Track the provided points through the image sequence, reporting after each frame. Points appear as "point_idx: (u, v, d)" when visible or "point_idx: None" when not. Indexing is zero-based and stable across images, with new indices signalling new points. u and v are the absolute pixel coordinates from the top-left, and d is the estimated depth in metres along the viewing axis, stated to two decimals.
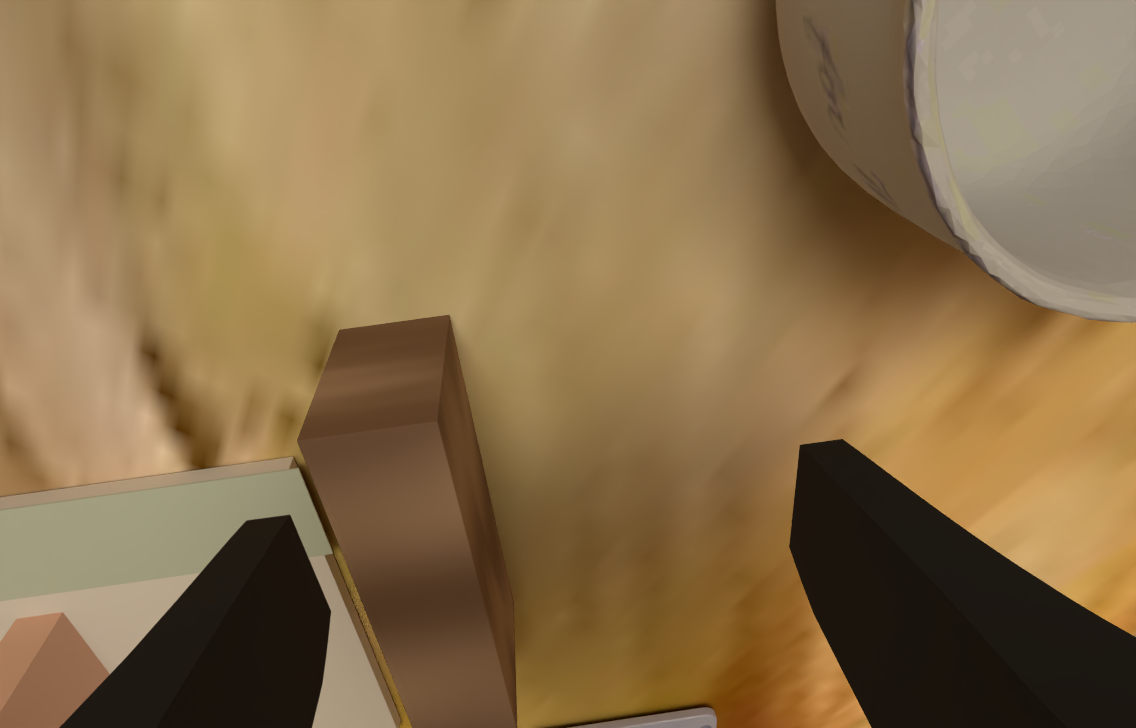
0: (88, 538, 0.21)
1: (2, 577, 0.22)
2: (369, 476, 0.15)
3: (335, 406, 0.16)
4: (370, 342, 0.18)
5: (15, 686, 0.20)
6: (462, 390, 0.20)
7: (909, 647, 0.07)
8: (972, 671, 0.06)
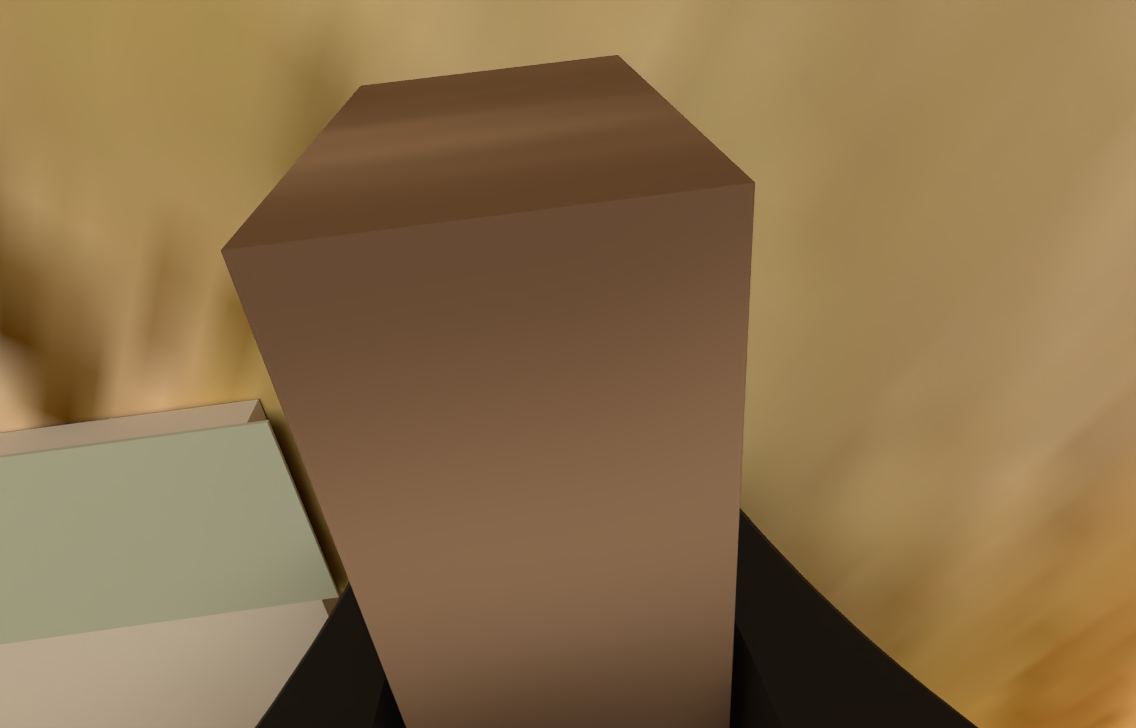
0: None
1: None
2: (477, 400, 0.05)
3: (362, 176, 0.05)
4: (439, 93, 0.07)
5: None
6: None
7: None
8: (755, 703, 0.06)
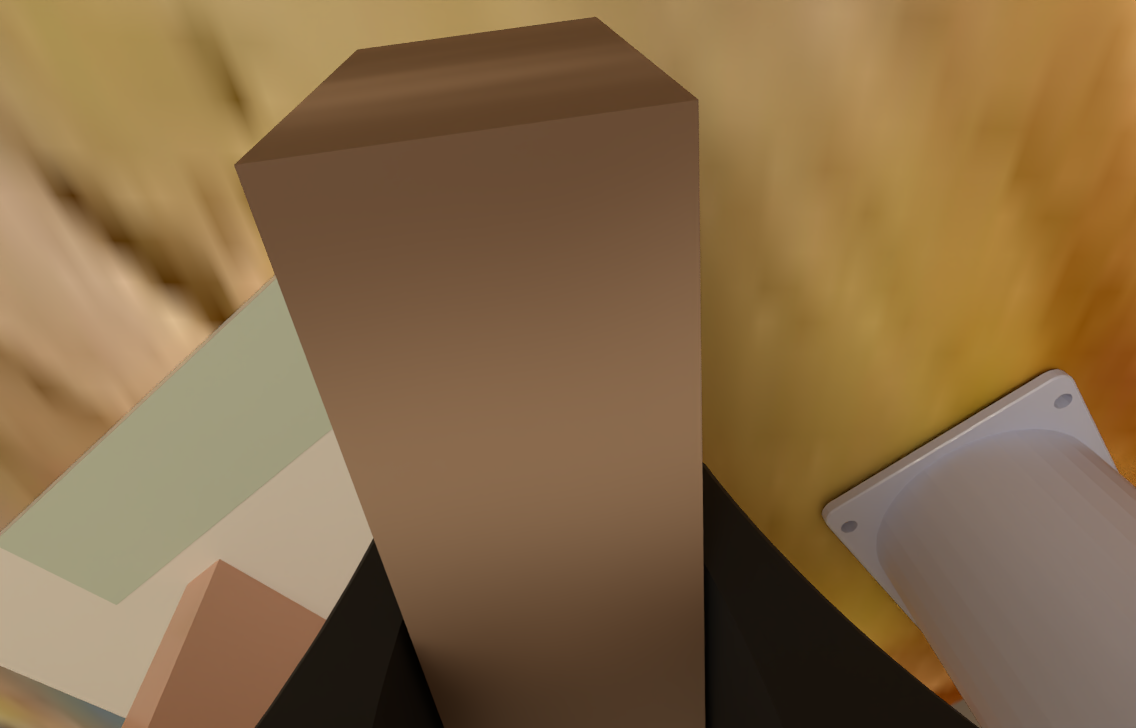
0: (174, 459, 0.18)
1: (140, 543, 0.19)
2: (461, 306, 0.05)
3: (356, 112, 0.05)
4: (429, 51, 0.08)
5: (186, 638, 0.18)
6: None
7: (724, 673, 0.07)
8: (756, 703, 0.06)
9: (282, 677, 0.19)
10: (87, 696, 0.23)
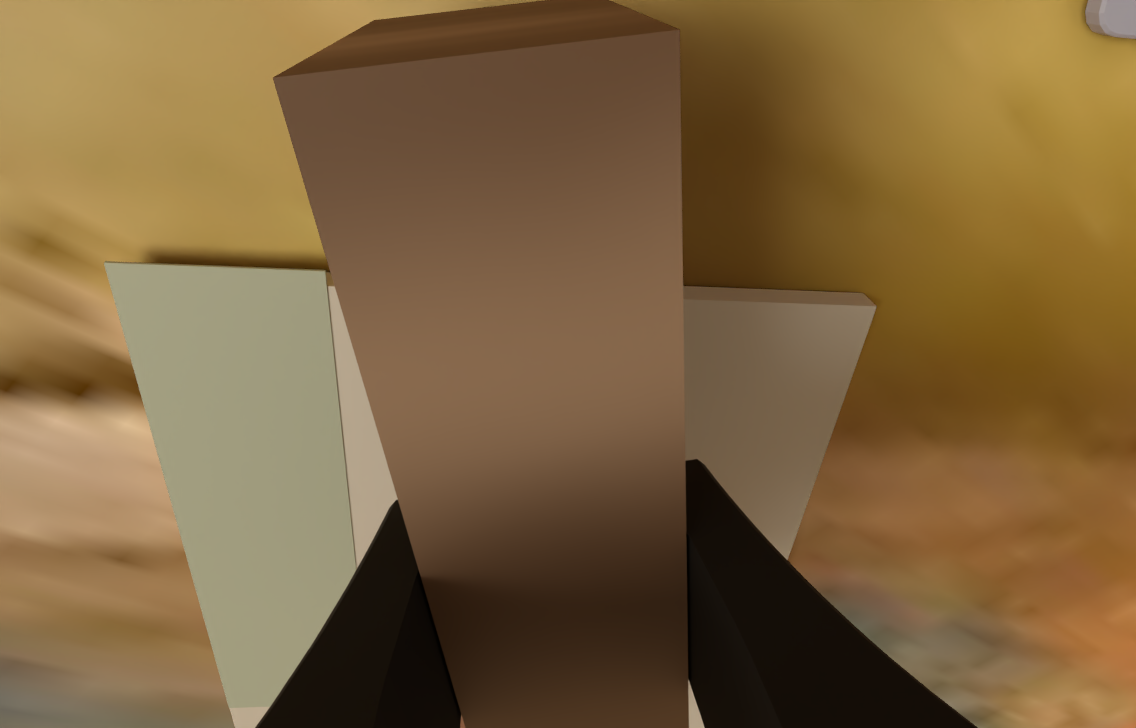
0: (257, 550, 0.15)
1: None
2: (468, 219, 0.06)
3: (378, 50, 0.06)
4: (441, 18, 0.08)
5: None
6: None
7: (723, 674, 0.07)
8: (754, 703, 0.06)
9: None
10: None
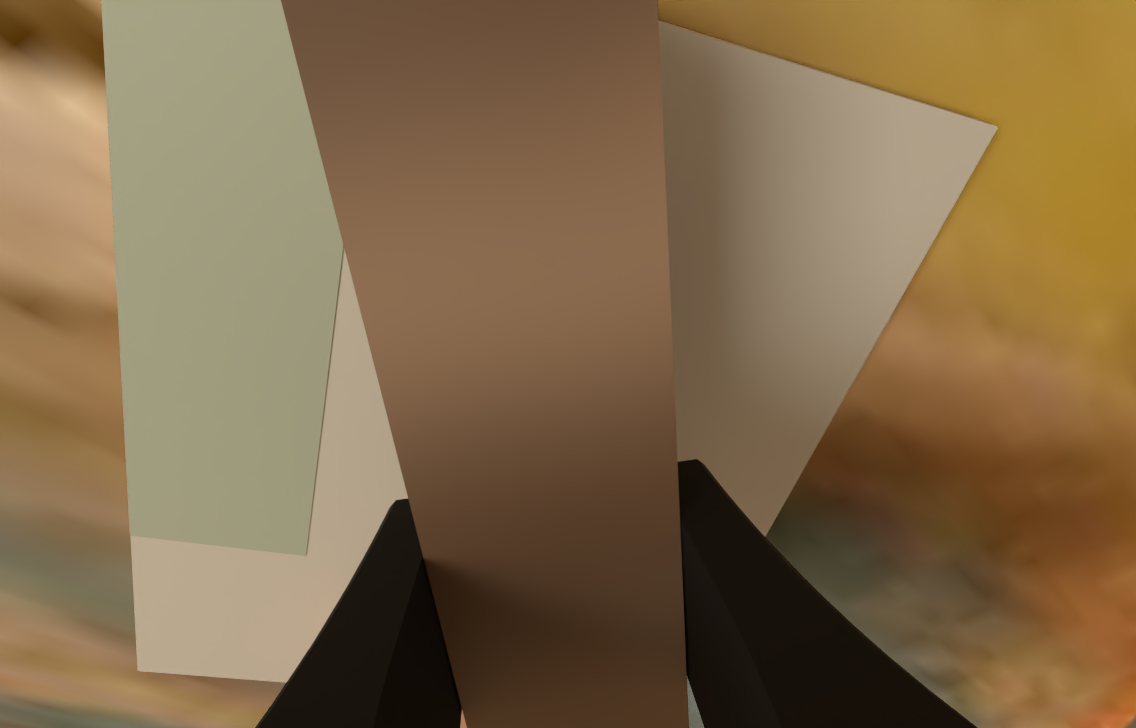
0: (211, 314, 0.12)
1: (267, 460, 0.14)
2: (456, 115, 0.06)
3: None
4: None
5: None
6: None
7: (723, 674, 0.07)
8: (754, 703, 0.06)
9: None
10: None
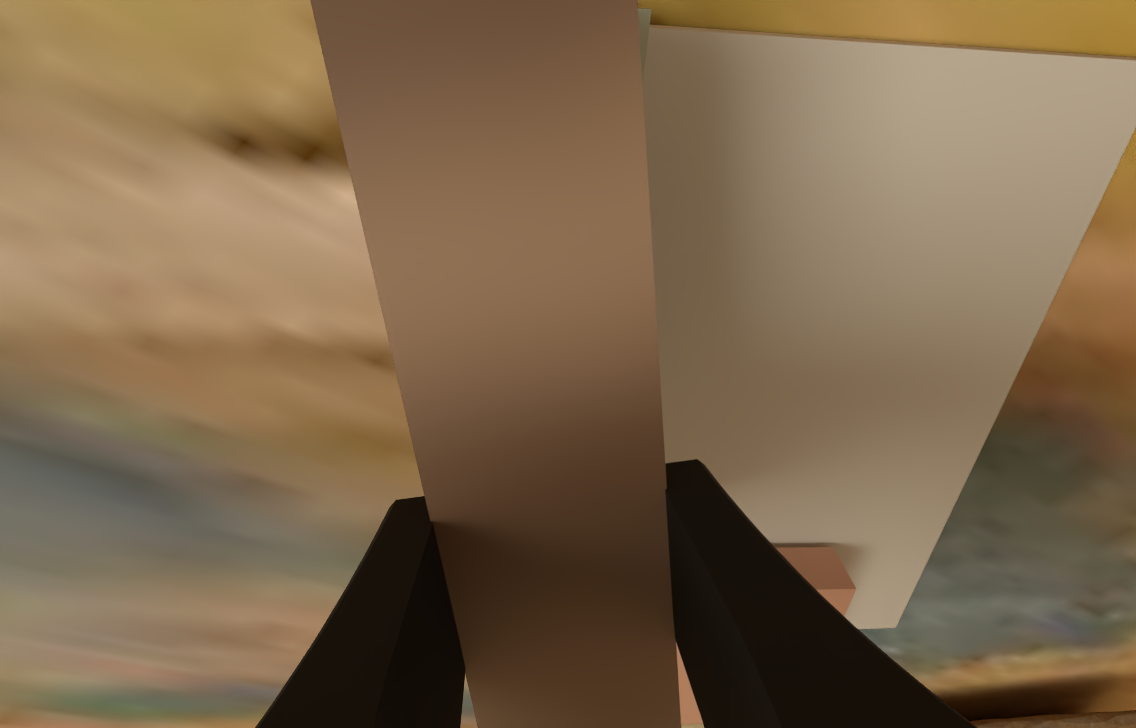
0: None
1: None
2: (462, 106, 0.07)
3: None
4: None
5: None
6: None
7: (723, 673, 0.07)
8: (755, 703, 0.06)
9: None
10: None
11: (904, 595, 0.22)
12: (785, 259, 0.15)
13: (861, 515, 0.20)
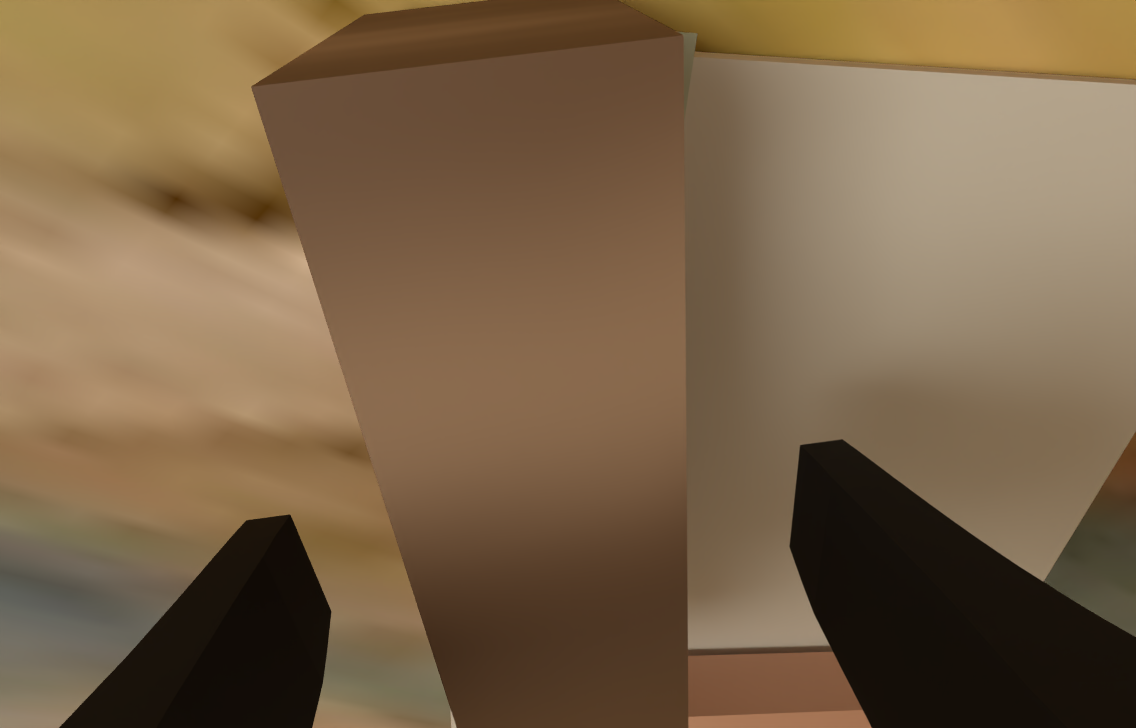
0: None
1: None
2: (459, 233, 0.05)
3: (364, 52, 0.06)
4: (433, 13, 0.08)
5: None
6: None
7: (909, 647, 0.07)
8: (972, 672, 0.06)
9: None
10: None
11: None
12: (851, 335, 0.12)
13: None
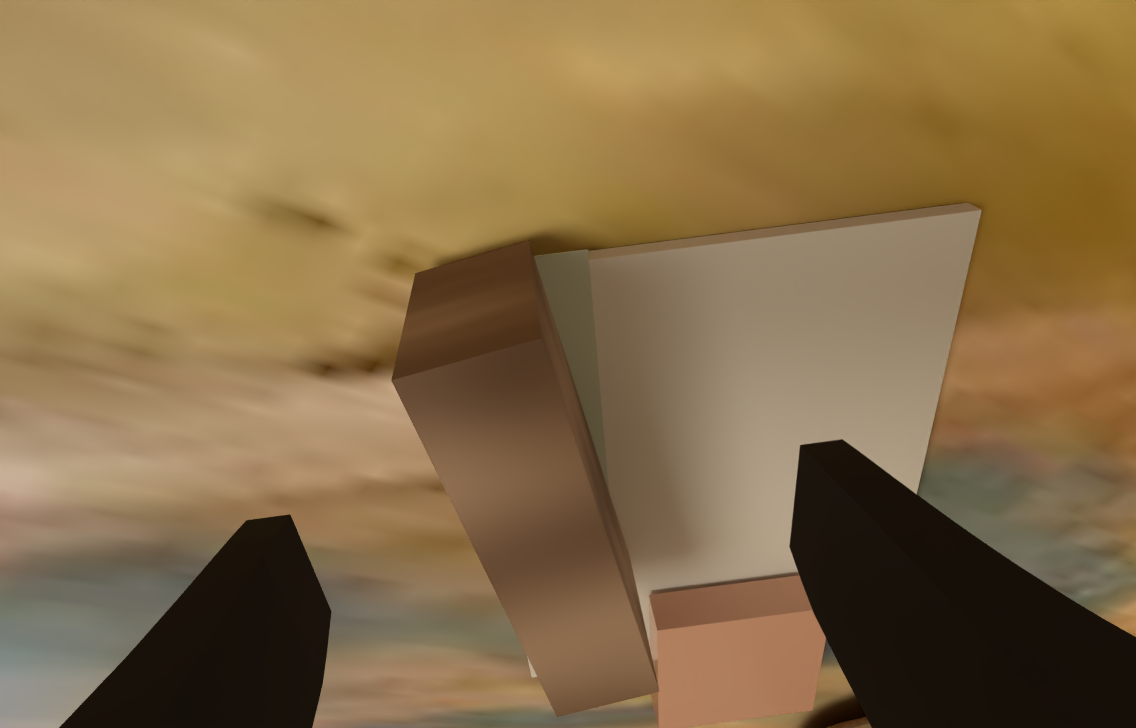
0: None
1: None
2: (472, 413, 0.14)
3: (425, 343, 0.14)
4: (449, 280, 0.17)
5: (659, 674, 0.25)
6: (553, 325, 0.18)
7: (909, 647, 0.07)
8: (972, 671, 0.06)
9: (739, 663, 0.25)
10: None
11: None
12: (723, 381, 0.20)
13: None
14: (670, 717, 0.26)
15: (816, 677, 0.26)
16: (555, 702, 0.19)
